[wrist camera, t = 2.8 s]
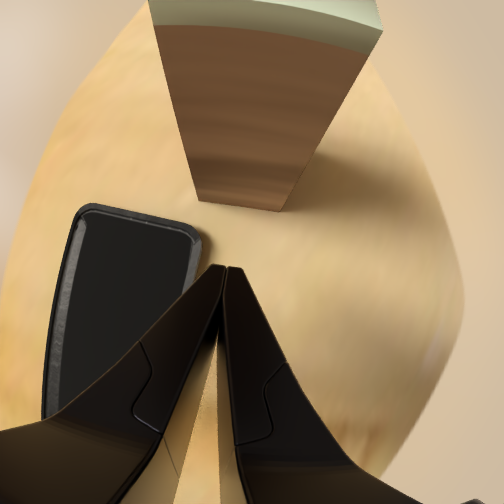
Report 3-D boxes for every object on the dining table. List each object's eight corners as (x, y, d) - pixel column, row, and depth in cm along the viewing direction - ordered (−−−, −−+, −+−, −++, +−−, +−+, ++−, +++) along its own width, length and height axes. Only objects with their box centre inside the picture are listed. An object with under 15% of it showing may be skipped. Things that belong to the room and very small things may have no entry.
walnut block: (279, 212, 17) (383, 30, 4) (198, 200, 17) (147, -2, 4) (286, 142, 18) (358, -48, 5) (212, 131, 18) (203, -71, 5)
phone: (41, 434, 13) (79, 199, 16) (49, 428, 14) (87, 205, 17) (156, 480, 13) (208, 228, 16) (159, 471, 15) (209, 232, 17)
